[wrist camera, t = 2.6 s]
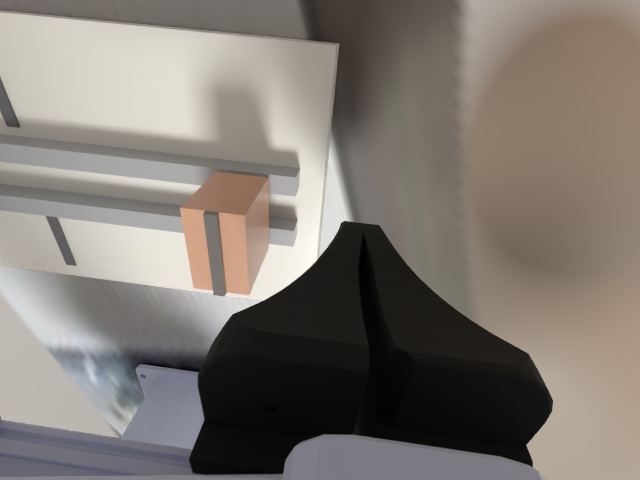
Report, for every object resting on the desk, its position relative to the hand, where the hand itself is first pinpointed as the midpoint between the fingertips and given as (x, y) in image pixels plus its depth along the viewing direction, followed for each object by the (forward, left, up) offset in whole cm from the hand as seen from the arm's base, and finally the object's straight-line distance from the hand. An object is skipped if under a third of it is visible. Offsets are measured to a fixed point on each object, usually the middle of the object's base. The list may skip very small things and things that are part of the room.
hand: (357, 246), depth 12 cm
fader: (0, +5, -2) cm, 5 cm away
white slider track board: (0, +11, -5) cm, 12 cm away
